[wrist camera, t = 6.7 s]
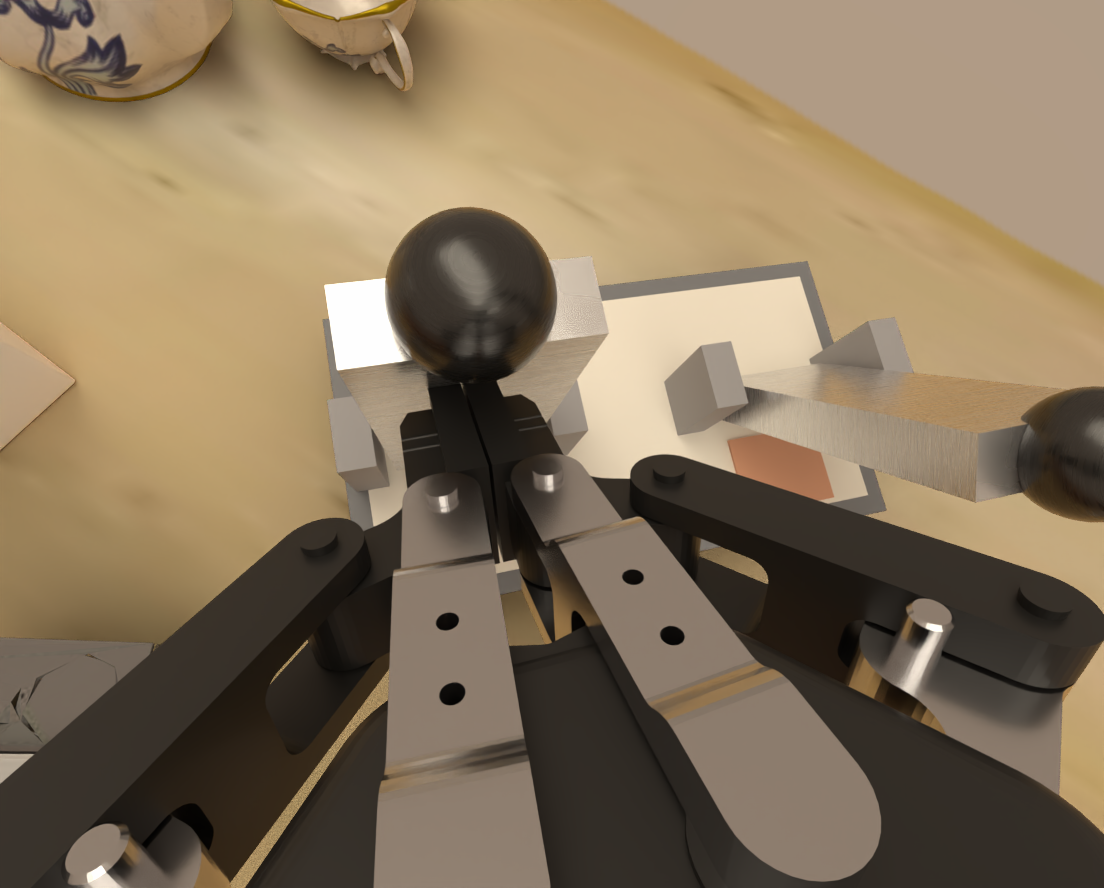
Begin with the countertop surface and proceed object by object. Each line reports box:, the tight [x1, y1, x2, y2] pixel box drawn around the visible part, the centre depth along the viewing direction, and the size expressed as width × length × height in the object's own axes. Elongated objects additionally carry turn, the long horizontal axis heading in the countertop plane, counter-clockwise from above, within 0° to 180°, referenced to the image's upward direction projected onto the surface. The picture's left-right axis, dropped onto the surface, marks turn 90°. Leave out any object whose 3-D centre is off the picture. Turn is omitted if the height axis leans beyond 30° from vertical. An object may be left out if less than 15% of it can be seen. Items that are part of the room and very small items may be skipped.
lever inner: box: [723, 363, 1104, 522], centre depth 19 cm, size 5×3×14 cm, turn 102°
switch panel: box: [323, 261, 914, 595], centre depth 24 cm, size 22×12×7 cm, turn 102°
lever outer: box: [325, 207, 609, 470], centre depth 16 cm, size 5×3×14 cm, turn 102°
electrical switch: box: [0, 638, 160, 783], centre depth 18 cm, size 9×5×9 cm, turn 87°
